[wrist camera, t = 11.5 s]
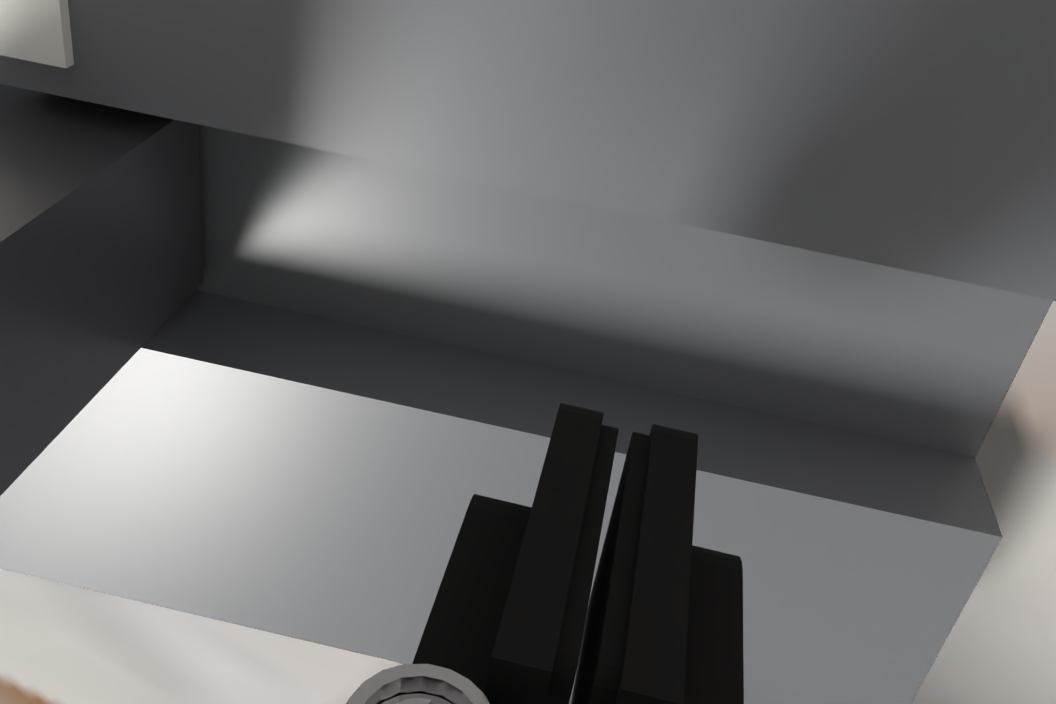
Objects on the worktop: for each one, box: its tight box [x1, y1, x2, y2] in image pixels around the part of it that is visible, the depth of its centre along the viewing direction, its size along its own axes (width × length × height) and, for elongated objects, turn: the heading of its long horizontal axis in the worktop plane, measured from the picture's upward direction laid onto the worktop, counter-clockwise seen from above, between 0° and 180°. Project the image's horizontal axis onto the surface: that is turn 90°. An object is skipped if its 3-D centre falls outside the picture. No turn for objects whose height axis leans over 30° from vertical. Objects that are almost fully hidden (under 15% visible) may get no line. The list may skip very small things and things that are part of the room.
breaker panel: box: [0, 0, 1056, 704], centre depth 16 cm, size 20×16×4 cm
